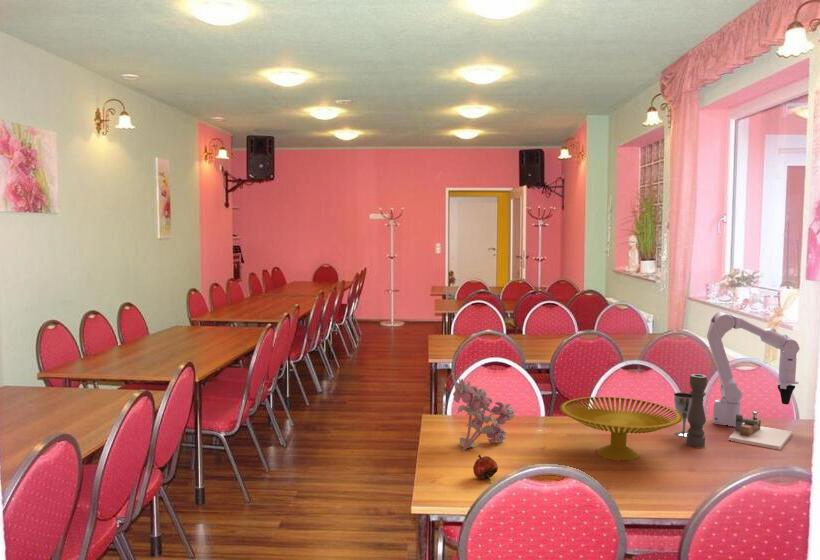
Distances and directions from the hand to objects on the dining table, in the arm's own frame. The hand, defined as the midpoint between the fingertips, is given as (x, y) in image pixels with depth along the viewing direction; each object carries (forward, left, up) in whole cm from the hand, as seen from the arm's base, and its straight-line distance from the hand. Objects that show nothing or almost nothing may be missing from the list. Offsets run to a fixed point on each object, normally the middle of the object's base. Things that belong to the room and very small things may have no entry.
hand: (785, 403), depth 275 cm
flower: (-80, -91, -10) cm, 122 cm away
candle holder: (-21, -44, -10) cm, 50 cm away
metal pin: (-8, -13, -5) cm, 16 cm away
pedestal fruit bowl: (-39, -71, -10) cm, 82 cm away
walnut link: (-8, -18, -8) cm, 22 cm away
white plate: (-4, -20, -9) cm, 22 cm away
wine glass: (-28, -34, -10) cm, 45 cm away
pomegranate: (-62, -120, -10) cm, 135 cm away
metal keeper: (-9, -20, -8) cm, 24 cm away
